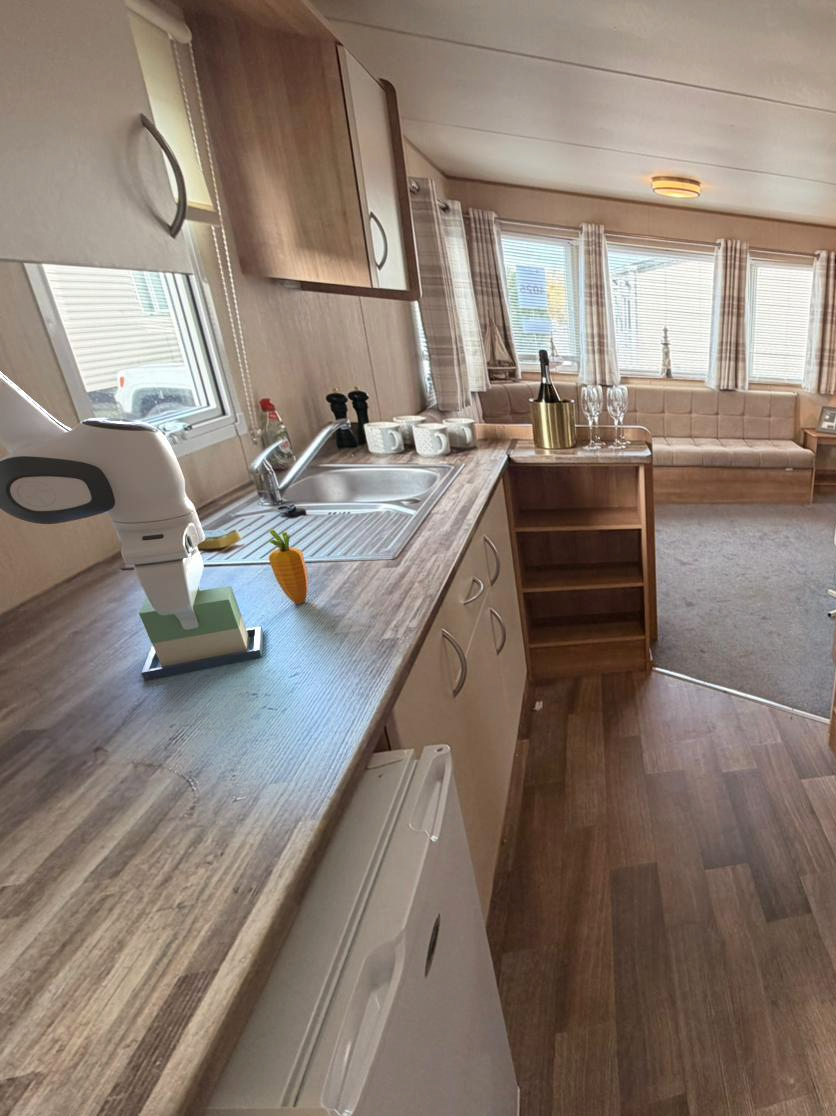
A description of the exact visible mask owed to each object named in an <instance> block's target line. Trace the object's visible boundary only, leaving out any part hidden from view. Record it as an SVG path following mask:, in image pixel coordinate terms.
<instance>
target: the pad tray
mask: <svg viewBox="0 0 836 1116" xmlns="http://www.w3.org/2000/svg"><path fill="white" fill-rule="evenodd" d="M246 629H247V632H248V635H249V638H253V639H254V640H253V648H251V649H249V650H246V651H241V652H236V653H231V654H226V655H220V656H215V657H210V658H205V659H200V660H195V661H189V662H184V663H179V664H174V665H169V666H163V667H162V666H159V667H157V665H158V662H159V659H158V657H157V654H156V652H155V649H154V647H153V645H151V646H150V648H149V650H148V654H147V656H146V658H145V662H144V664H143V667H142V670H141V673H140V674H141V676H142V678H143V680H144V681H147V680H148V681H149V680H154V679H159V678H164V677H169V676H174V675H179V674H184V673H189V672H194V671H199V670H204V669H209V668H215V667H219V666H223V665H224V666H225V665H229V664H234V663H240V662H244V661H250V660H254V659H259V658H262V657H263V645H264V632H263V628H262V626H261V625H260V626H256V627H249V628H246Z"/></svg>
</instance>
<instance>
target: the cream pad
mask: <svg viewBox="0 0 836 1116" xmlns="http://www.w3.org/2000/svg"><path fill="white" fill-rule="evenodd" d="M247 629H248V628H247V626H246V623H245V621H244V618H243V615H242V614H241V615H240V623H239V628H237V629H231V630H226V631H220V632H214V633H209V634H203V635H197V636H192V637H186V638H180V639H175V640H169V641H163V642H158V643H151V646H153V647H154V649H155V652H156V654H157V657H158V662H159V663H160V667H163V666H169V665H174V664H179V663H184V662H189V661H195V660H200V659H205V658H210V657H215V656H220V655H226V654H231V653H236V652H241V651H246V650H250V645H251V644H250V643H251V637H249V635H248V632H247Z"/></svg>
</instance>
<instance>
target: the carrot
mask: <svg viewBox="0 0 836 1116" xmlns="http://www.w3.org/2000/svg"><path fill="white" fill-rule="evenodd" d="M268 533H270V535H271V536H272V537H273V538H274V539H270V540H268V542H269V543H270V544H272V545H274V546H275V547H276V548H277V549H274V550H272V552H271V553H270V554H269V556H268V560H269V564H270V567H271V569H272V572H273V574H274V576H275V579H276V581H277V583H278V585H279V586H280V588H281V591H283V593H284V594H285V596H286V597H287V598H288V599H289V600H290V601H291V602H292V603H294V605H302V604H305V603H306V600H307V597H308V591H309V575H308V570H307V569H308V568H307V565H306V561H305V557H304V554H303V551H302V550H301V549H299V548H295V547H291V546H290V539H291V535H290V534H288V532H286V531H282V532H281V536H280V534H279V533H278V532H277V531H276V530H275V529H270V530H269V532H268Z"/></svg>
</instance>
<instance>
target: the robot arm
mask: <svg viewBox="0 0 836 1116" xmlns="http://www.w3.org/2000/svg"><path fill="white" fill-rule="evenodd" d="M0 444H1V445H2V446H3V447H5V449H6V450H7V452H8V454H6V455H5V456H4V457H1V458H0V510H1V511H3V512H4V513H5V514H7V515H10V516H12V517H13V518H16V519H18V520H21V521H25V522H28V523H33V524H39V525H56V524H57V525H58V524H62V523H68V522H73V521H78V520H82V519H87V518H90V517H91V518H92V517H95V516H97V515H101V514H106V515H108V516H109V518H110V521H111V523H112V525H113V527H114V530H115V533H116V535H117V538H118V541H119V543H120V554H121V557H122V560H123V562H124V564H125V565H126V566H133V570H134V573H135V576H136V578H137V580H138V582H139V584H140V586H141V588H142V590H143V593H144V594H145V596H146V598H148V599H149V601H150V603H151V605H152V607H153V608H154V609H155V610H156V612H157V613H159V614H160V615H171V614H175V616H176V617H177V618H178V619H179V620H180V623H181V625H182V628H183V629H185V630H188V629H194V628H197V627H198V626H199V620H198V617H197V614H195V612H194V610H193V604H194V601H195V597H196V594H197V591H201V586H200V583H201V580H202V575H203V573H204V568H205V566H204V562H203V558H202V555H201V552H200V550H199V548H198V545H199V544H201V543H203V542H204V541H205V540H206V536H205V533H204V530H203V527H202V523H201V521H200V518H199V516H198V513H197V510H196V506H195V505H194V503H193V502H192V501H191V500H190V498H189V497H188V495H187V492H186V479H185V477H184V474H183V471H182V468H181V466H180V463H179V461H178V458H177V456H176V454H175V452H174V450H173V448H172V446H171V444H170V442H169V441H168V439H167V437H166V436H165V435H164V434H163V433H162V431H161V430H160V429H159V428H157V427H156V426H153V425H151V424H149V423H148V422H144V421H140V420H135V419H128V418H120V417H94V418H93V417H92V418H88V419H83V420H81V421H80V422H79V423H78V424H76V426H75V427H72V428H70V427H69V426H67V425H65V424H63V423H62V422H60V421H59V420H57V419H56V417H54V416H53V415H51V414H50V413H49V412H47V410H45V409H44V408H43V407H42V406H41V405H39V403H37V402H36V401H35V400H33V399H32V398H31V397H30V396H29V395H28V394H27V393H26V392H24V391H23V390H22V389H21V388H20V387H19V386H18V385H16V384H15V383H14V382H13V381H12V380H10V379H9V378H8V377H7V376H6V375H5V374H3V373H2V372H1V371H0Z"/></svg>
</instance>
